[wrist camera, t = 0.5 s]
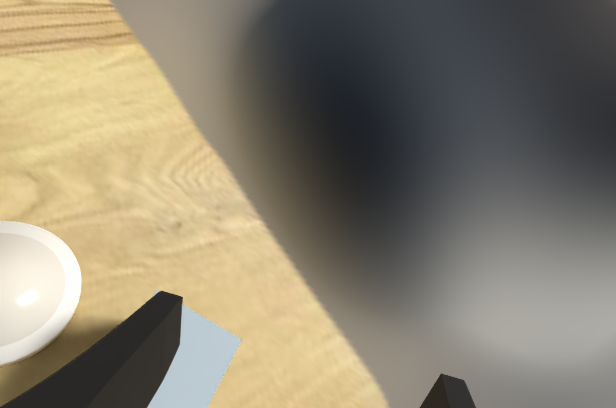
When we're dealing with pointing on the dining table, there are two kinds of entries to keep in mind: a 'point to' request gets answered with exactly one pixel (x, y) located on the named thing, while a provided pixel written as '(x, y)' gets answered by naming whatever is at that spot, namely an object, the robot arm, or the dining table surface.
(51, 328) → the dish
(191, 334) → the cover
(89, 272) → the dining table surface
